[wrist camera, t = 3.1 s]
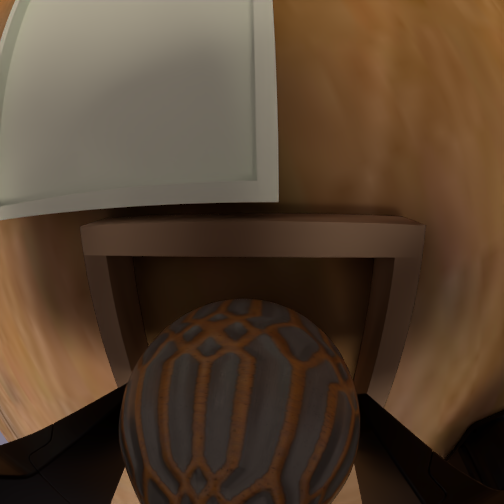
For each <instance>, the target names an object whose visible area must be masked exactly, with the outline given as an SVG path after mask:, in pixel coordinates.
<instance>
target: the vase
mask: <svg viewBox="0 0 504 504" xmlns="http://www.w3.org/2000/svg"><path fill="white" fill-rule="evenodd" d="M359 435H360V410H359V402H358V397H357V393H356V389H355V385H354V383H353V380H352V377H351V374H350V372H349V369H348V367H347V365H346V363H345V361H344V359H343V357H342V355H341V354H340V352H339V350H338V349H337V348H336V346H335V345H334V344H333V343H332V341H331V340H330V339H329V338H328V336H327V335H326V334H325V333H324V332H323V331H322V330H321V329H319V328H318V327H317V326H316V325H315V324H314V323H312V322H311V321H310V320H308V319H307V318H306V317H304V316H303V315H301V314H299V313H297V312H296V311H294V310H292V309H289V308H287V307H285V306H282V305H279V304H276V303H273V302H269V301H264V300H258V299H230V300H223V301H218V302H214V303H210V304H207V305H205V306H202V307H200V308H197V309H195V310H193V311H191V312H189V313H187V314H185V315H183V316H182V317H180V318H179V319H177V320H176V321H175V322H173V323H172V324H170V325H169V326H168V327H167V328H165V329H164V330H163V331H162V332H161V333H160V334H159V335H158V336H157V338H156V339H155V340H154V341H153V342H152V343H151V344H150V345H149V347H148V348H147V349H146V351H145V352H144V353H143V355H142V356H141V358H140V359H139V361H138V362H137V364H136V366H135V367H134V369H133V371H132V373H131V376H130V378H129V380H128V383H127V386H126V389H125V392H124V396H123V400H122V405H121V410H120V418H119V443H120V449H121V454H122V458H123V461H124V464H125V467H126V470H127V473H128V476H129V478H130V481H131V483H132V486H133V488H134V491H135V493H136V495H137V498H138V500H139V502H140V504H331V503H332V502H333V500H334V499H335V498H336V496H337V495H338V493H339V492H340V490H341V489H342V488H343V486H344V484H345V482H346V481H347V479H348V477H349V475H350V473H351V470H352V467H353V464H354V461H355V457H356V453H357V449H358V442H359Z"/></svg>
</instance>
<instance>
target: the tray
mask: <svg viewBox="0 0 504 504" xmlns="http://www.w3.org/2000/svg"><path fill="white" fill-rule="evenodd" d="M231 202H279V168H278V115H277V83H276V58H275V36H274V18H273V2H272V0H15V3H14V5H13V8H12V10H11V12H10V15H9V18H8V20H7V23H6V26H5V29H4V32H3V35H2V38H1V41H0V220H5V219H12V218H19V217H27V216H35V215H44V214H53V213H62V212H72V211H82V210H93V209H106V208H119V207H133V206H150V205H169V204H194V203H231Z"/></svg>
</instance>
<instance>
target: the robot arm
mask: <svg viewBox="0 0 504 504" xmlns="http://www.w3.org/2000/svg"><path fill="white" fill-rule="evenodd" d="M126 386H127V383H126V384H124V385H122V386H121V387H119V388H117V389H115V390H114V391H112V392H110V393H108V394H107V395H105V396H103V397H101V398H100V399H98V400H96V401H94V402H92V403H91V404H89V405H87V406H85V407H83V408H82V409H80V410H78V411H76V412H74V413H72V414H70V415H69V416H67V417H65V418H63V419H61V420H59V421H57V422H55V423H54V424H51V425H49V426H48V427H46V428H44V429H41V430H39V431H37V432H35V433H33V434H30V435H28V436H25V437H23V438H20V439H17V440H14V441H12V442H9V443H6V444H3V445H0V504H111V501H112V498H113V496H114V493H115V491H116V488H117V486H118V483H119V481H120V478H121V476H122V473H123V471H124V468H125V464H124V461H123V458H122V454H121V449H120V443H119V418H120V410H121V405H122V400H123V396H124V392H125V389H126ZM357 397H358V402H359V410H360V435H359V442H358V449H357V453H356V457H355V461H354V465H355V470H356V475H357V479H358V484H359V489H360V494H361V499H362V504H504V411H502V412H500V413H498V414H495V415H493V416H491V417H489V418H486V419H484V420H481V421H479V422H476V423H474V424H473V425H472V426H471V427H469V429H468V430H467V432H466V433H465V435H464V436H463V438H462V439H461V440H460V442H459V443H458V445H457V446H456V448H455V449H454V450H453V452H452V453H451V454H450V456H449V457H448V458H447V459H446V460H444V459H443V458H442V457H440V456H439V455H438V454H437V453H436V452H434V451H433V452H432V449H431V448H430V447H428V446H427V445H426V444H425V443H424V442H422V441H421V440H420V439H419V438H418V437H416V436H415V435H414V434H413V433H412V432H411V431H409V430H408V429H407V428H406V427H405V426H404V425H402V424H401V423H400V422H399V421H398V420H397V419H396V418H394V417H393V416H392V415H391V414H390V413H389V412H387V411H386V410H385V409H384V408H383V407H382V406H381V405H379V404H378V403H377V402H376V401H375V400H374V399H373V398H372V397H370V396H369V395H368V394H367V393H360V394H357Z"/></svg>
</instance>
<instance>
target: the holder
mask: <svg viewBox="0 0 504 504" xmlns="http://www.w3.org/2000/svg"><path fill="white" fill-rule="evenodd" d="M425 230H426V225H424V224H421V223H418V222H416V221H413V220H410V219H408V218H405V217H402V216H382V215H355V214H313V213H222V214H180V215H153V216H131V217H112V218H105V219H102V220H98V221H95V222H92V223H89V224H86V225H83V226H80V232H81V240H82V247H83V254H84V260H85V266H86V272H87V277H88V282H89V287H90V292H91V297H92V301H93V306H94V310H95V314H96V318H97V322H98V326H99V330H100V333H101V337H102V340H103V344H104V347H105V350H106V354H107V357H108V360H109V363H110V366H111V369H112V372H113V375H114V378H115V381H116V383H117V386H118V388H119V387H121V386H122V385H124V384H126V383H128V380H129V378H130V376H131V373H132V371H133V369H134V367H135V366H136V364H137V362H138V361H139V359H140V358H141V356H142V355H143V353H144V352H145V351H146V349H147V348H148V344H147V340H146V335H145V331H144V326H143V321H142V315H141V310H140V305H139V299H138V293H137V287H136V280H135V273H134V266H133V258H132V256H189V257H374V266H373V275H372V283H371V291H370V298H369V304H368V311H367V317H366V323H365V329H364V334H363V339H362V344H361V349H360V354H359V359H358V363H357V368H356V372H355V376H354V381H353V383H354V385H355V389H356V393H357V394H360V393H367V394H368V395H369V396H370V397H372V398H373V399H374V400H375V401H376V402H377V403H378V404H379V405H381V406H382V407H383V408H384V406H385V404H386V401H387V398H388V395H389V393H390V390H391V387H392V384H393V381H394V378H395V375H396V372H397V369H398V366H399V362H400V359H401V356H402V352H403V349H404V345H405V341H406V337H407V334H408V330H409V326H410V321H411V317H412V313H413V308H414V303H415V298H416V293H417V288H418V282H419V276H420V270H421V263H422V256H423V248H424V239H425Z"/></svg>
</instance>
